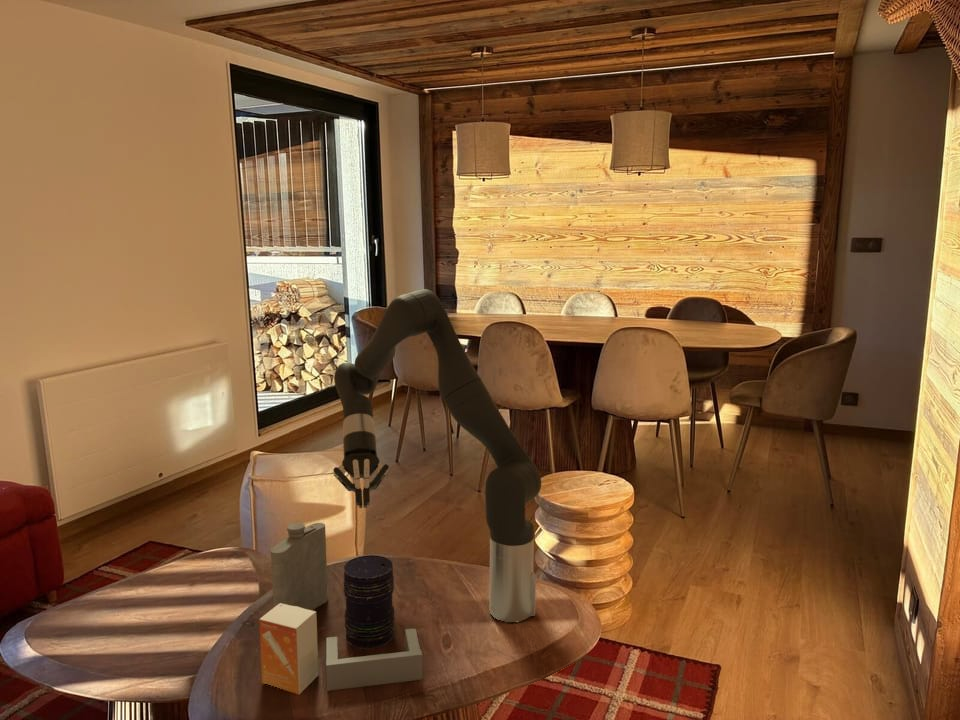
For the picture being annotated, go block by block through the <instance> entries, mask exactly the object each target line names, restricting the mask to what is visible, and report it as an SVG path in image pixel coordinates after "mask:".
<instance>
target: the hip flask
mask: <svg viewBox="0 0 960 720" xmlns="http://www.w3.org/2000/svg"><path fill="white" fill-rule="evenodd" d="M286 531H287V532H288V536H286V537H284V538H283V539H282V540H281V541H279V542H278V543H276V545H274V546H273V547H272V548H270V563H271V564H270V565H271V581H272V583H271V584H272V587H271V588H272V604H273V608H274V607H275V606H277V605H278V604H280V603H282V604H286V605H291V606H297V607H301V608H304V609H308V610H312V611H315V610H316V609H317V608H318V607H321V606H322V605H323V604H326V603H327V602H328V600H329V597H328V596H329V591H328V569H327V568H328V567H327V566H328V565H327V543H326V542H327V538H326V537H327V535H326V534H327V533H326V524H325V523H323V522H316V523H315V522H314V523H312V524H309V525H307V526H306V525H305V523H303V522H299V521H298V522H292V523H289V524H288V525H287V526H286Z"/></svg>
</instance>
